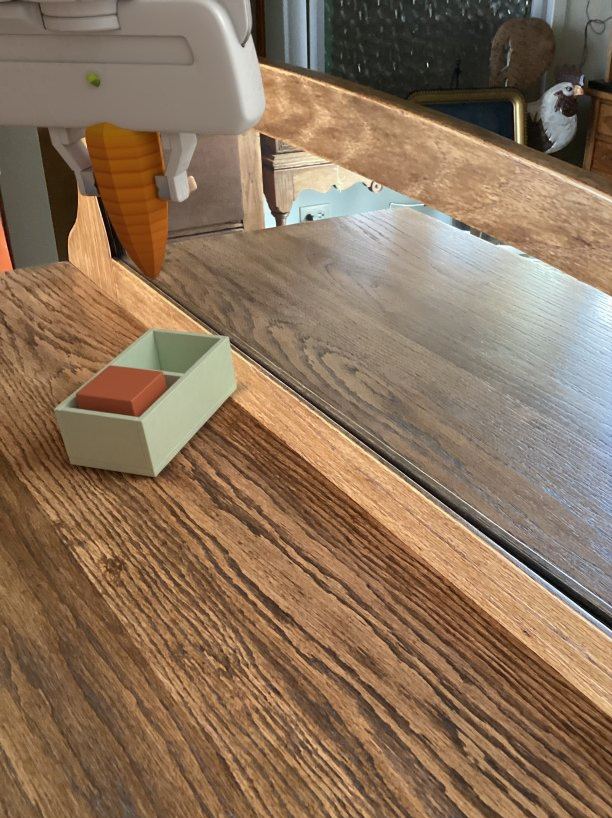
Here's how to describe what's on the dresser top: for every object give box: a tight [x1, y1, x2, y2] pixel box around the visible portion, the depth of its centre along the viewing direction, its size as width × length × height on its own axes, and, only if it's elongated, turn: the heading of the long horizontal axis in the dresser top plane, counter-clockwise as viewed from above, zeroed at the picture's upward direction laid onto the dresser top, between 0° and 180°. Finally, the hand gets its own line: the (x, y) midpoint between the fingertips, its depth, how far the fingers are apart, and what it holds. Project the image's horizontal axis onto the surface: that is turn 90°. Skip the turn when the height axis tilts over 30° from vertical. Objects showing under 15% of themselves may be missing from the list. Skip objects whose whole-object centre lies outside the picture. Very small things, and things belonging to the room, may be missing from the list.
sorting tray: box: [53, 327, 238, 478], centre depth 68 cm, size 7×14×5 cm, turn 163°
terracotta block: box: [76, 365, 167, 417], centre depth 65 cm, size 4×4×4 cm
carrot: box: [84, 73, 169, 281], centre depth 61 cm, size 5×5×15 cm
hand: (135, 196), depth 62 cm, fingers closed on carrot, 5 cm apart
